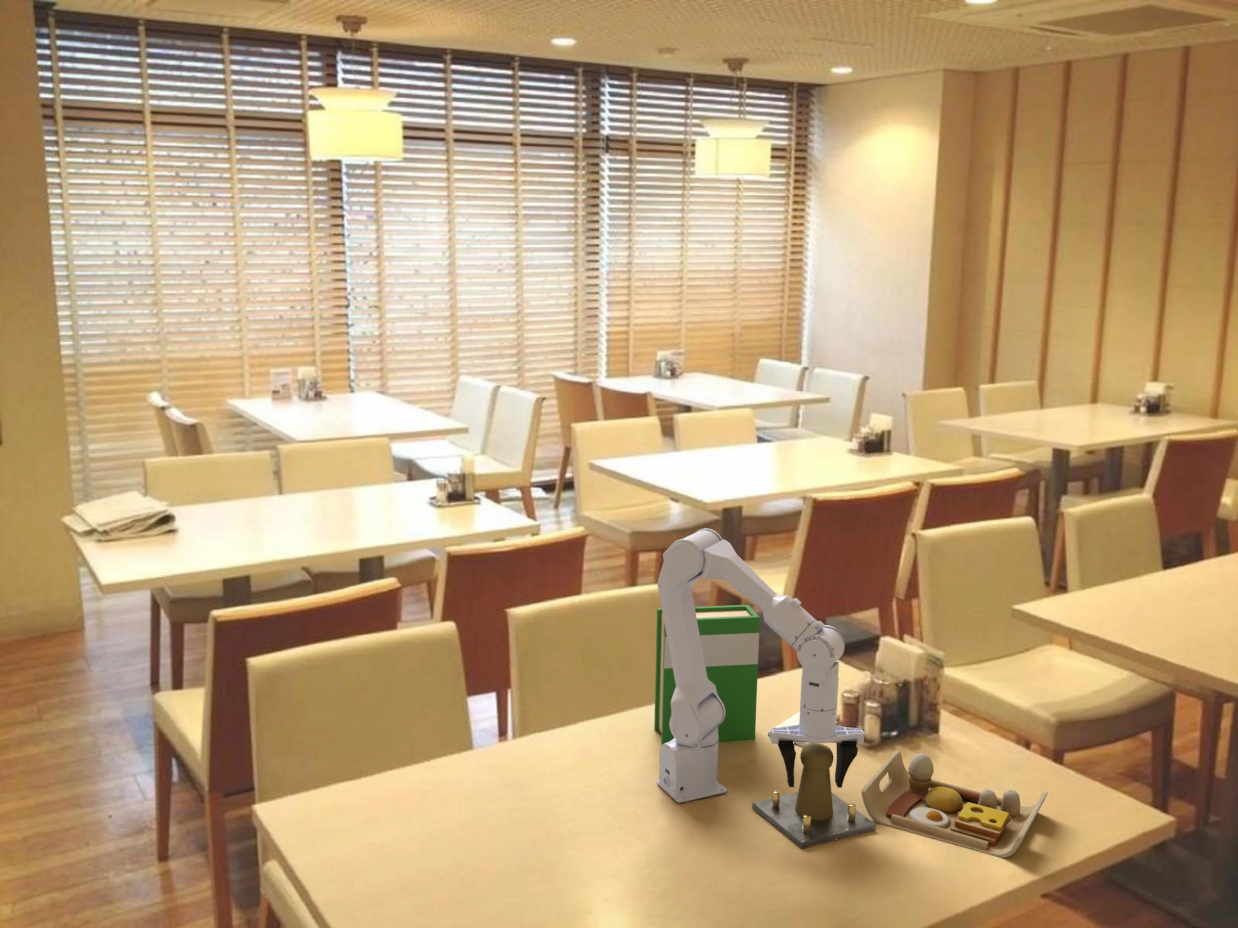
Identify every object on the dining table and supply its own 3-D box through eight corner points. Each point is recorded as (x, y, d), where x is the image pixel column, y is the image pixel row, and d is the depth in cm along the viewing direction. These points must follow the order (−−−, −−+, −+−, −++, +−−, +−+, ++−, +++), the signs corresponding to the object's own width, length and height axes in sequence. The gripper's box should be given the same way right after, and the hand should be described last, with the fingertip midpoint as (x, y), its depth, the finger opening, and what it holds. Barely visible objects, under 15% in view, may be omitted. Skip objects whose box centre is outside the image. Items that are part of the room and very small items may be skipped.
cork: (817, 798, 184) (820, 735, 182) (840, 814, 179) (844, 750, 177) (787, 806, 182) (790, 742, 180) (810, 822, 176) (814, 757, 174)
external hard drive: (837, 729, 216) (806, 750, 206) (799, 717, 221) (767, 738, 211) (837, 721, 215) (806, 742, 206) (800, 709, 220) (767, 730, 211)
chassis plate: (801, 848, 171) (802, 827, 170) (752, 807, 183) (753, 787, 182) (875, 829, 177) (876, 809, 176) (822, 791, 189) (823, 772, 188)
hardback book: (662, 745, 206) (665, 620, 201) (654, 729, 213) (656, 608, 208) (754, 740, 209) (759, 617, 204) (743, 724, 216) (748, 604, 211)
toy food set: (859, 820, 180) (861, 775, 179) (894, 776, 196) (897, 735, 194) (1021, 866, 167) (1025, 819, 166) (1046, 816, 183) (1050, 772, 181)
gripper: (858, 694, 180) (854, 773, 183) (768, 693, 180) (765, 772, 182) (869, 712, 173) (864, 793, 176) (775, 711, 173) (772, 793, 176)
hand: (814, 784), depth 179 cm, fingers open, 7 cm apart
